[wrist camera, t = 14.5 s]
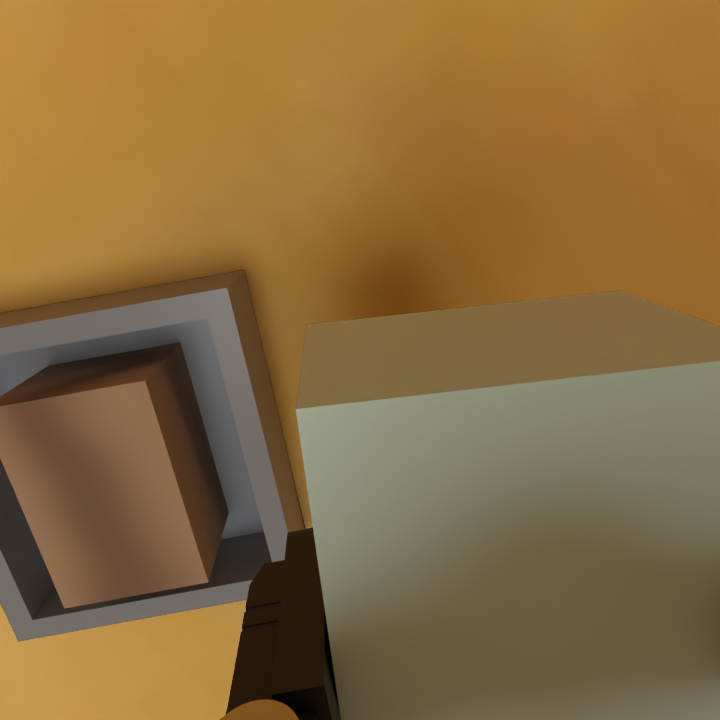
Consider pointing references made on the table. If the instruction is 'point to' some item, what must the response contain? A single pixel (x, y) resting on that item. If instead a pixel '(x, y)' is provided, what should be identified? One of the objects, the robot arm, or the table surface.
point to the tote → (221, 421)
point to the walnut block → (115, 474)
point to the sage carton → (518, 510)
